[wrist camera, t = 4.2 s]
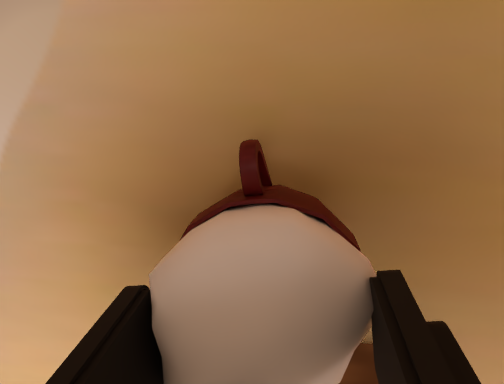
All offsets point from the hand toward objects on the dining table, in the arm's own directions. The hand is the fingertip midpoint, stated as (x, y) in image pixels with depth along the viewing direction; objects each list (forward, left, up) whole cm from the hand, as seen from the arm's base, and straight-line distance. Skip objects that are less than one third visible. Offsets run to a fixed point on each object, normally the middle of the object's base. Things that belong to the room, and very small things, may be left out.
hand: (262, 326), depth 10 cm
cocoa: (0, 0, -5) cm, 5 cm away
